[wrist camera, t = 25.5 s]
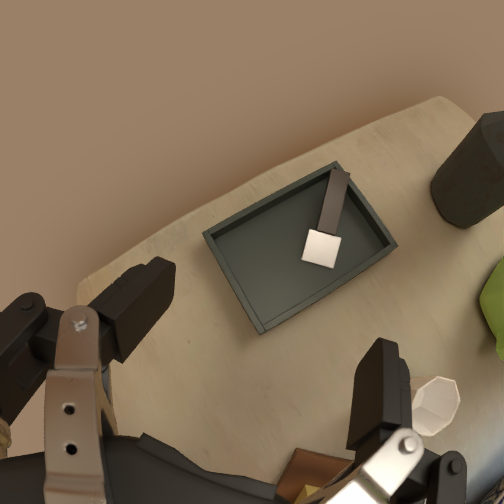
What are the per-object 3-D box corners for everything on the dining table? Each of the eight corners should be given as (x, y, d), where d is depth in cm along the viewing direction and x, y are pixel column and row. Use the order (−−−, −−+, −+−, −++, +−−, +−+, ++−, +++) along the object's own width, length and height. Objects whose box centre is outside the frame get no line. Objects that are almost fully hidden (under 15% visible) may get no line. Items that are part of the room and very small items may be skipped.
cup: (426, 414, 29) (457, 428, 21) (357, 428, 29) (378, 451, 21) (428, 364, 31) (462, 369, 23) (358, 376, 31) (382, 387, 23)
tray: (260, 334, 33) (259, 335, 31) (206, 239, 37) (201, 232, 34) (390, 251, 35) (398, 246, 32) (332, 170, 38) (336, 160, 36)
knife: (332, 268, 35) (353, 178, 35) (333, 268, 33) (356, 174, 33) (300, 259, 35) (324, 169, 35) (301, 259, 34) (325, 165, 34)
